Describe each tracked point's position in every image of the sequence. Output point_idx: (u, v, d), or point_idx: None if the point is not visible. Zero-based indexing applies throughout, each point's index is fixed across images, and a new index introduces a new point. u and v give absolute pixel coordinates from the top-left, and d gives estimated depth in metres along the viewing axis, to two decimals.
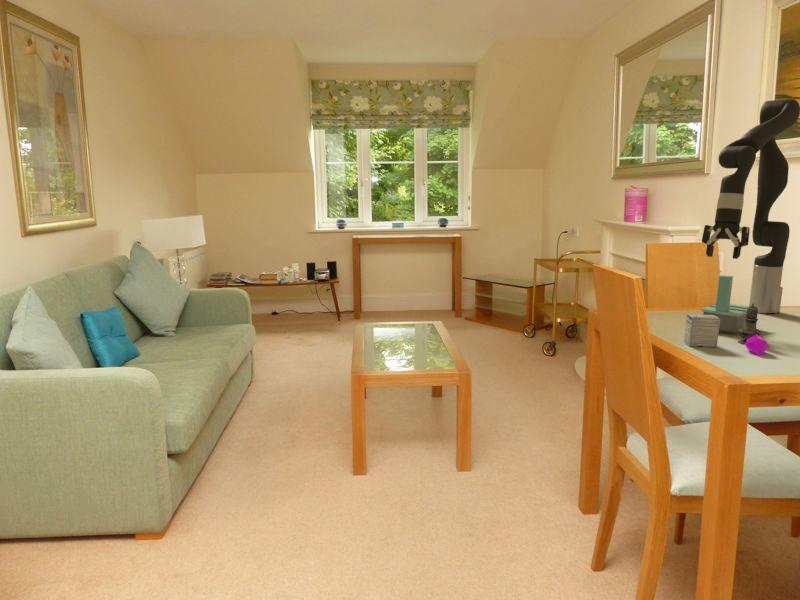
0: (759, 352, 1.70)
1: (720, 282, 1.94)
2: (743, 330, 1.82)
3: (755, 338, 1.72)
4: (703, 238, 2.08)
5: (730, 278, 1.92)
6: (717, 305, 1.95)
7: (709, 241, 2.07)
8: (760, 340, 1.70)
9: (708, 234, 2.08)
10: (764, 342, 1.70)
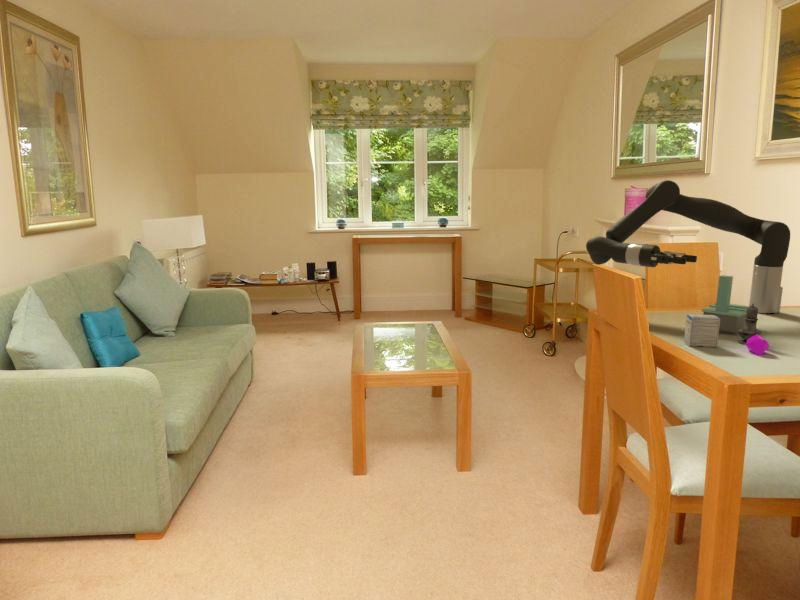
0: (760, 352, 1.70)
1: (720, 282, 1.94)
2: (743, 330, 1.82)
3: (756, 338, 1.72)
4: None
5: (730, 278, 1.92)
6: (717, 305, 1.95)
7: None
8: (761, 340, 1.71)
9: (675, 256, 2.10)
10: (765, 342, 1.70)
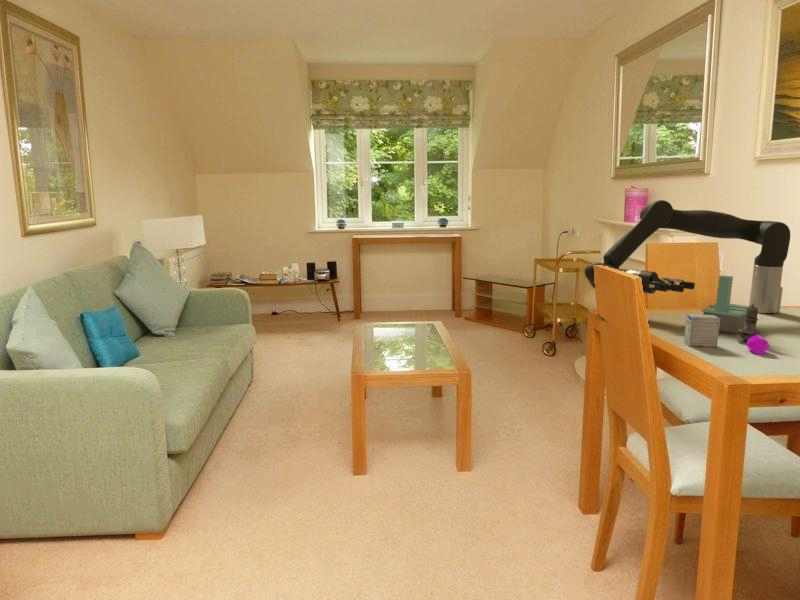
0: (760, 352, 1.70)
1: (720, 282, 1.94)
2: (743, 330, 1.82)
3: (756, 338, 1.72)
4: None
5: (730, 278, 1.92)
6: (717, 305, 1.95)
7: None
8: (761, 340, 1.71)
9: None
10: (765, 342, 1.70)
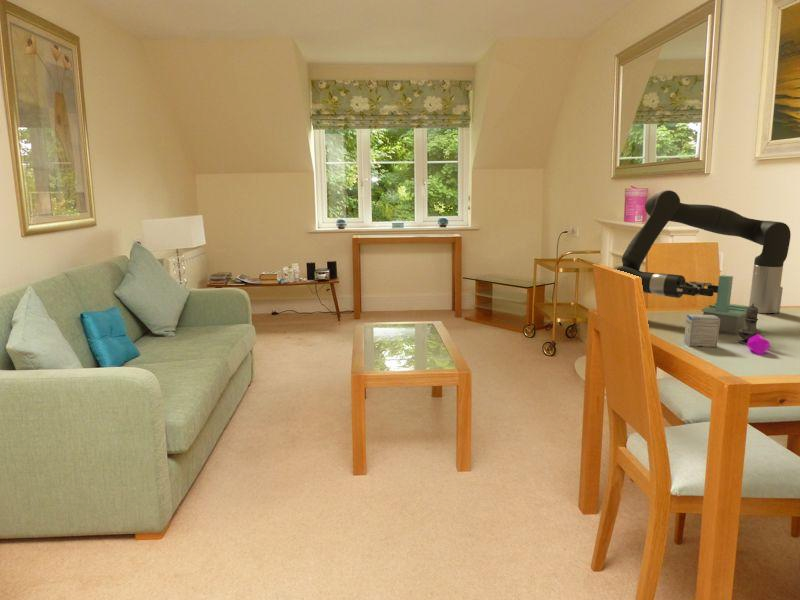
0: (761, 352, 1.70)
1: (720, 282, 1.94)
2: (743, 330, 1.82)
3: (757, 338, 1.72)
4: None
5: (730, 278, 1.92)
6: (717, 305, 1.95)
7: None
8: (762, 340, 1.71)
9: (701, 286, 2.05)
10: (766, 342, 1.71)
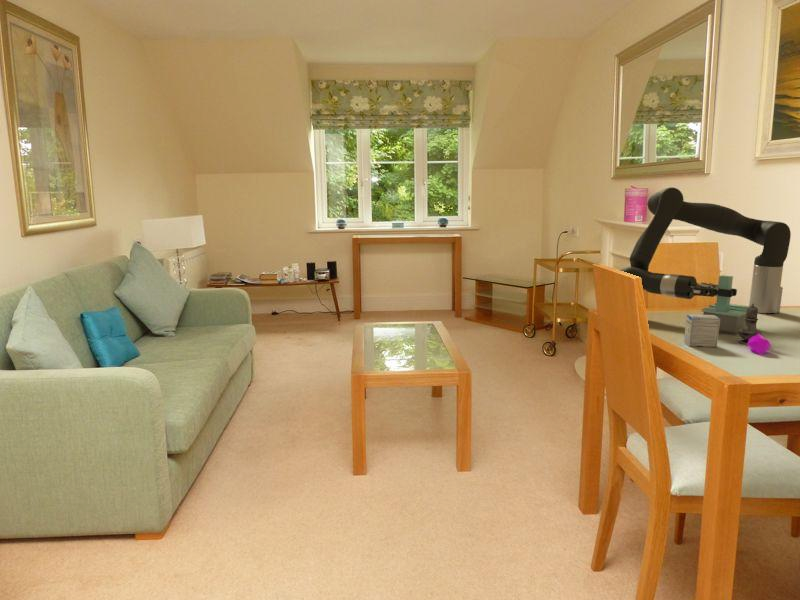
0: (761, 351, 1.71)
1: (720, 282, 1.94)
2: (743, 330, 1.82)
3: (757, 337, 1.73)
4: None
5: (730, 278, 1.92)
6: (717, 305, 1.95)
7: None
8: (762, 339, 1.71)
9: None
10: (766, 341, 1.71)
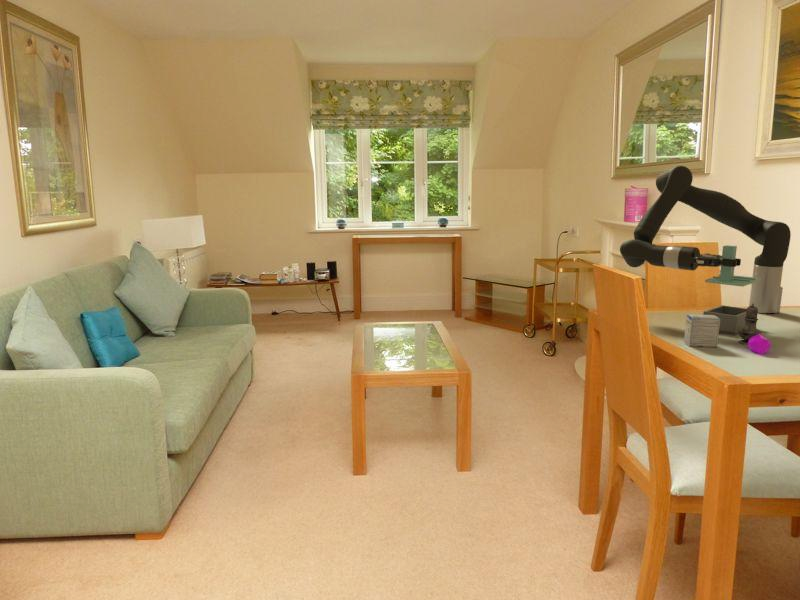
0: (762, 351, 1.71)
1: (724, 252, 1.92)
2: (743, 330, 1.82)
3: (757, 337, 1.73)
4: None
5: (734, 248, 1.90)
6: (721, 275, 1.93)
7: None
8: (762, 339, 1.71)
9: None
10: (766, 341, 1.71)
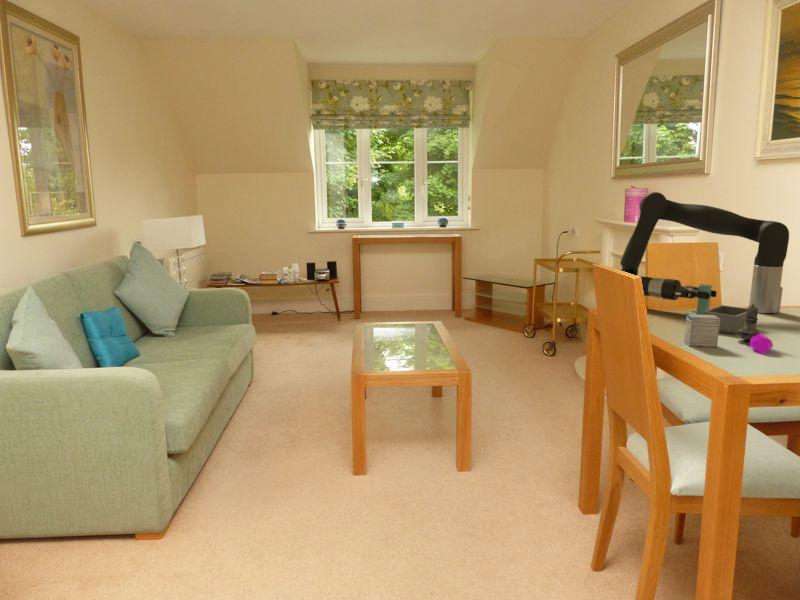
0: (763, 350, 1.71)
1: (700, 290, 2.16)
2: (743, 330, 1.82)
3: (759, 337, 1.74)
4: None
5: (709, 287, 2.15)
6: (697, 311, 2.18)
7: None
8: (764, 339, 1.72)
9: (696, 290, 2.24)
10: (768, 341, 1.72)
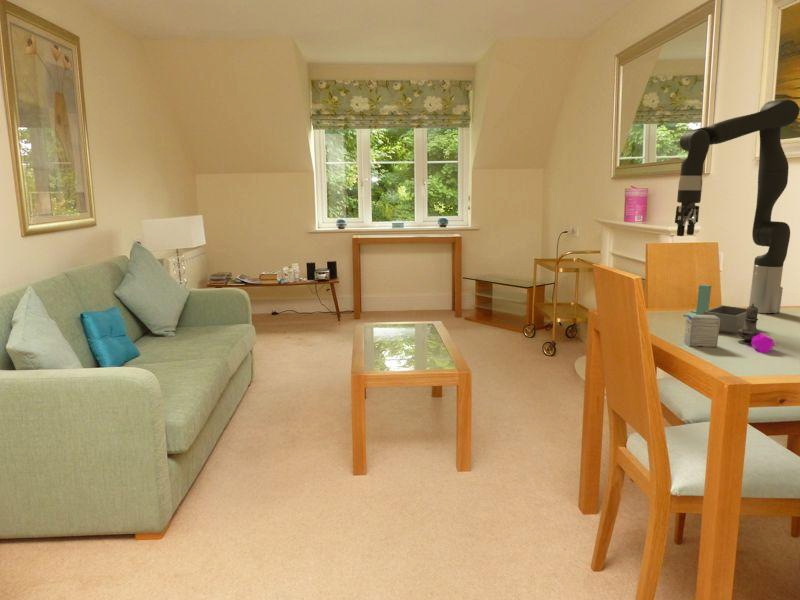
0: (765, 350, 1.72)
1: (700, 290, 2.16)
2: (743, 330, 1.82)
3: (761, 336, 1.74)
4: None
5: (708, 287, 2.14)
6: (697, 311, 2.17)
7: None
8: (766, 338, 1.73)
9: None
10: (770, 340, 1.73)
